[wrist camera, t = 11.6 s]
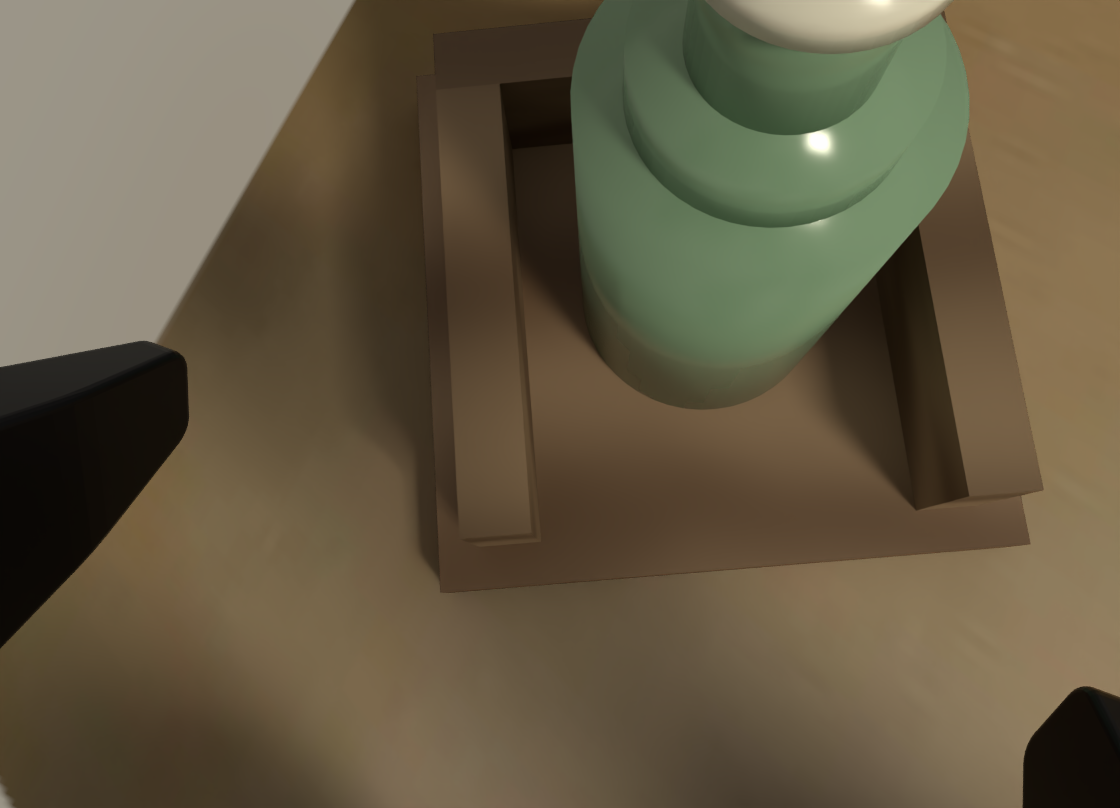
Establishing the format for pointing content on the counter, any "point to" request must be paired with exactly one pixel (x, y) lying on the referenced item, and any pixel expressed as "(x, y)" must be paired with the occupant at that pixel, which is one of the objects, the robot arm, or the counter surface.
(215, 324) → the counter surface
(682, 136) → the green bottle
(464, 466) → the bottle rest
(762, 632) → the counter surface
